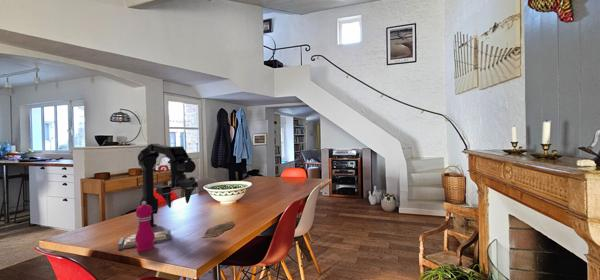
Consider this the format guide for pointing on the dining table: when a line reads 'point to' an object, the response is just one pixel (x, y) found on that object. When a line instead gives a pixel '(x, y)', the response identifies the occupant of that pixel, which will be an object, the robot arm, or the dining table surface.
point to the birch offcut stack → (157, 237)
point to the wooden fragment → (218, 229)
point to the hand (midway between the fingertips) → (178, 205)
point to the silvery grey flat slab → (121, 244)
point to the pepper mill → (144, 228)
